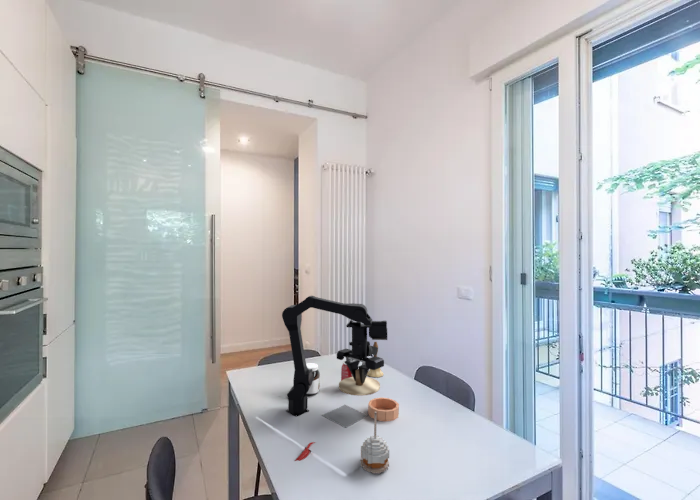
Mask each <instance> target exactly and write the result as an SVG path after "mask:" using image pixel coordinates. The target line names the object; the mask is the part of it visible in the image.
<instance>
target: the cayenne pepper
mask: <svg viewBox="0 0 700 500" xmlns="http://www.w3.org/2000/svg"><path fill="white" fill-rule="evenodd" d="M315 443H316V441H313V442H309V443H308V444H307V446H305V447H304V449H303V451H302V452H301V453H300V454H299V455H298V457H296V459H295V460H294V462H296V461H303V460H304V459H306V458H307V457H308V456H309V455H310V454H311V451H312V450H311V449H310V447H311V446H312V445H314V444H315Z"/></svg>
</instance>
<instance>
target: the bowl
mask: <svg viewBox="0 0 700 500" xmlns="http://www.w3.org/2000/svg"><path fill="white" fill-rule="evenodd" d="M367 408H368V409H367V413H368V414H367V415H369V417H370V418H371V419H373V420H374V412H377V422H378V421H380V422H391V421H392V422H393V421H395V420H397V419H398V418H399V415H400V404H399V402H397V400H394V399H392V398H389V397H375V398H372V399H370V400H369V401H368V404H367Z"/></svg>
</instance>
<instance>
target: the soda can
mask: <svg viewBox="0 0 700 500" xmlns="http://www.w3.org/2000/svg"><path fill="white" fill-rule="evenodd" d="M345 361H346V360H345ZM345 361H343V362H342V365H341V372H340V376H341V377H340V378H341V379H340V381H341V380H343V379H346V378H349V377H353V376H352V374H351V372H350V370H349V368H348V366H347V365H346V364H345Z"/></svg>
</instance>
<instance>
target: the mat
mask: <svg viewBox="0 0 700 500" xmlns="http://www.w3.org/2000/svg"><path fill="white" fill-rule="evenodd" d="M321 416H322V417H324V418H326V419H328V420H329V421H332V422H334V423H335V424H338V425H339V426H340V427H343V428H348V427H350V426H351V425H355V424H356V423H357V422H360V421H361V420H363V419H365V418H367V417H368V416H369V414H367V413H365V412H362V411H360V410H358V409H355V408H354V407H351V406H348V405H347V404H344V405H340V406H339V407H337V408H335V409H332V410H329V411H328V412H326V413H324V414H322V415H321ZM369 417H370V416H369Z"/></svg>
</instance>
